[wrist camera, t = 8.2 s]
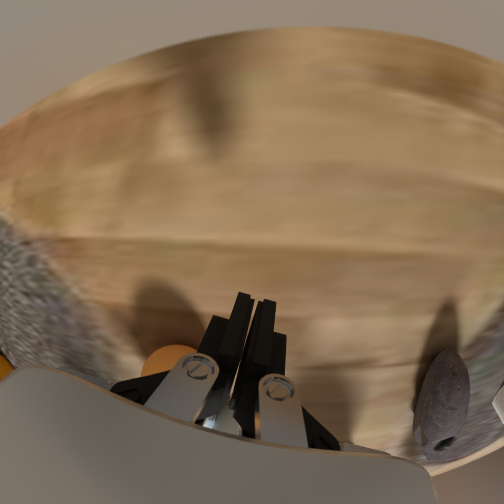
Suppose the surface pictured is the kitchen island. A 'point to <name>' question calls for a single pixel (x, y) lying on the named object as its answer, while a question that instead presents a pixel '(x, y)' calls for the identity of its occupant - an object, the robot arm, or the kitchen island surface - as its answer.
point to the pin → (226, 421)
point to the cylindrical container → (499, 403)
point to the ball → (165, 359)
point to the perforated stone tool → (442, 405)
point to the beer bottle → (4, 367)
